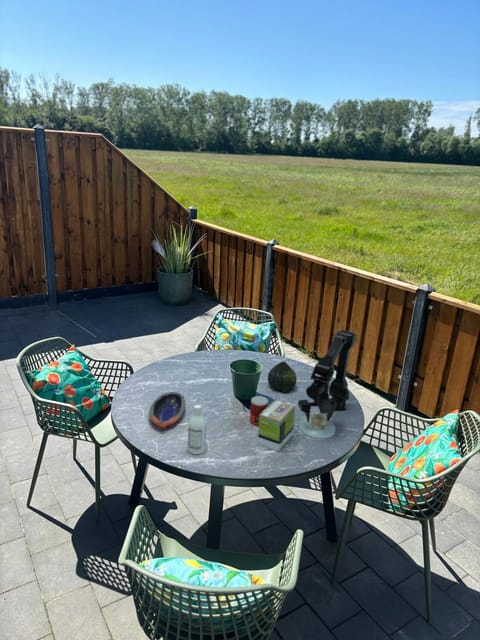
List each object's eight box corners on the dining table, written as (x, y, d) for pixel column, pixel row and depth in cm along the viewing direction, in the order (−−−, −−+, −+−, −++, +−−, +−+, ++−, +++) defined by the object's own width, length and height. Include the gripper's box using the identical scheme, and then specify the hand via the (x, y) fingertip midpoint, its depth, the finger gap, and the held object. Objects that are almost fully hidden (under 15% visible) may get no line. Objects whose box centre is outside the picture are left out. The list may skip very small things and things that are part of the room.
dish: (190, 400, 223) (190, 391, 222) (177, 435, 194) (177, 425, 193) (159, 398, 224) (159, 388, 222) (141, 432, 195) (141, 422, 193)
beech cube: (320, 423, 207) (321, 413, 205) (324, 429, 202) (326, 419, 201) (310, 423, 206) (311, 414, 204) (314, 429, 201) (315, 419, 199)
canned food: (255, 427, 202) (256, 406, 199) (246, 419, 209) (247, 397, 206) (269, 424, 206) (271, 402, 202) (261, 415, 213) (262, 394, 209)
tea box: (272, 428, 203) (275, 398, 198) (293, 435, 198) (296, 405, 194) (256, 444, 191) (259, 413, 186) (278, 452, 186) (281, 420, 181)
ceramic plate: (327, 418, 213) (327, 416, 213) (340, 437, 199) (341, 435, 198) (294, 420, 210) (294, 418, 210) (306, 440, 195) (306, 437, 195)
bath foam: (196, 442, 189) (197, 400, 183) (208, 449, 185) (210, 406, 179) (184, 450, 184) (185, 406, 178) (196, 457, 180) (197, 412, 174)
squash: (278, 389, 227) (293, 363, 230) (258, 378, 238) (273, 354, 241) (292, 400, 236) (306, 375, 239) (272, 390, 247) (286, 366, 250)
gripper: (307, 400, 189) (303, 432, 194) (349, 397, 193) (344, 429, 198) (298, 387, 199) (295, 419, 204) (338, 385, 203) (334, 416, 208)
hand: (317, 421), depth 203 cm, fingers open, 9 cm apart
